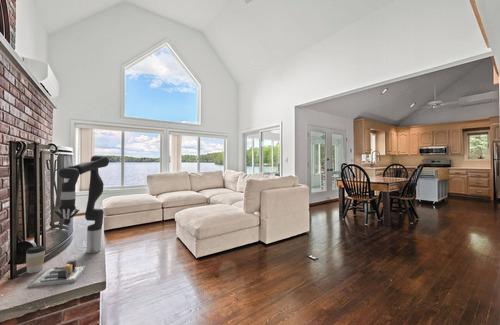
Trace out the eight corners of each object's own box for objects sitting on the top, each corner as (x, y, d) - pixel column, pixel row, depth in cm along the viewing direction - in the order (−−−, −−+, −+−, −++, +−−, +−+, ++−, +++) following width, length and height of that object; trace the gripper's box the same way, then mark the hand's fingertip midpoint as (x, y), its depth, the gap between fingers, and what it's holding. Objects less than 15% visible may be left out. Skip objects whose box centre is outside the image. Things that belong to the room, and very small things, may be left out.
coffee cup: (46, 269, 139) (48, 246, 139) (27, 275, 131) (28, 251, 131) (41, 265, 143) (42, 243, 143) (22, 271, 135) (23, 247, 135)
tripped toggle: (64, 272, 132) (64, 264, 132) (72, 271, 134) (72, 263, 134) (62, 274, 130) (62, 265, 130) (70, 273, 131) (70, 265, 131)
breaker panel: (44, 272, 135) (44, 262, 135) (85, 268, 142) (86, 258, 142) (27, 287, 120) (27, 275, 119) (74, 282, 127) (75, 270, 127)
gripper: (82, 197, 147) (81, 222, 147) (58, 197, 143) (57, 223, 143) (77, 199, 140) (76, 225, 140) (52, 199, 136) (51, 226, 136)
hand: (66, 224), depth 141 cm, fingers closed
